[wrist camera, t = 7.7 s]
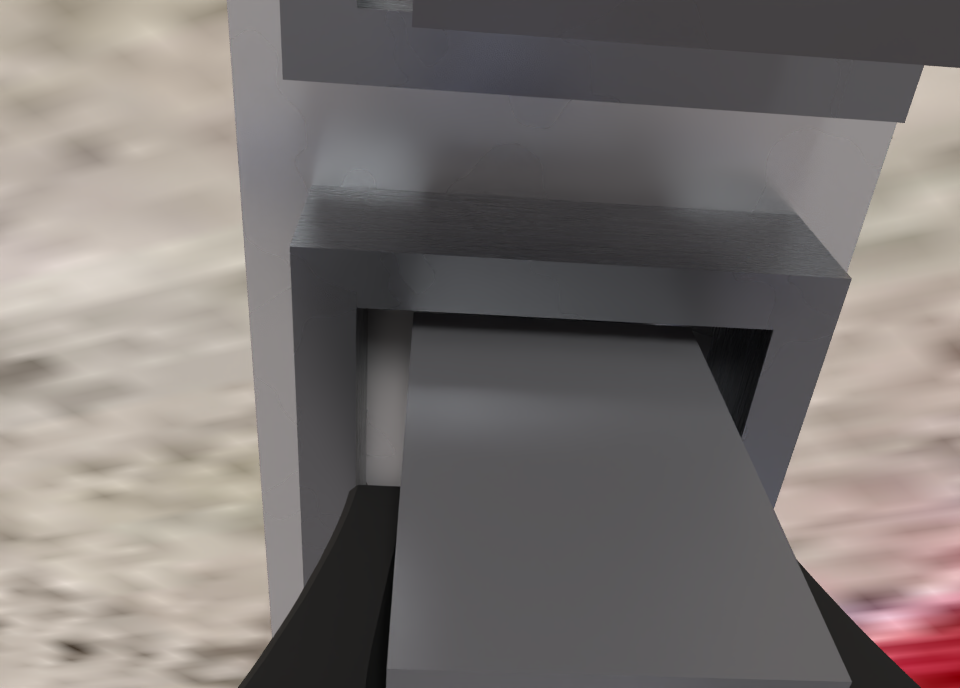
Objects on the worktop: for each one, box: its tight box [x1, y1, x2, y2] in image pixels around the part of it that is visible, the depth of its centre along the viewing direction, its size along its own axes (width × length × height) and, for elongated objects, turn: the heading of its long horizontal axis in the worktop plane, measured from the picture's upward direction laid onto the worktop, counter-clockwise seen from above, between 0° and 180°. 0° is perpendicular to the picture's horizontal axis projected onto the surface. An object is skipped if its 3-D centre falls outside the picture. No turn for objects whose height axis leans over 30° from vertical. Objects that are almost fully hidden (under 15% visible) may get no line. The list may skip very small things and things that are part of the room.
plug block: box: [386, 312, 852, 688], centre depth 11 cm, size 5×4×6 cm
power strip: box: [227, 0, 960, 638], centre depth 10 cm, size 20×9×7 cm, turn 175°
